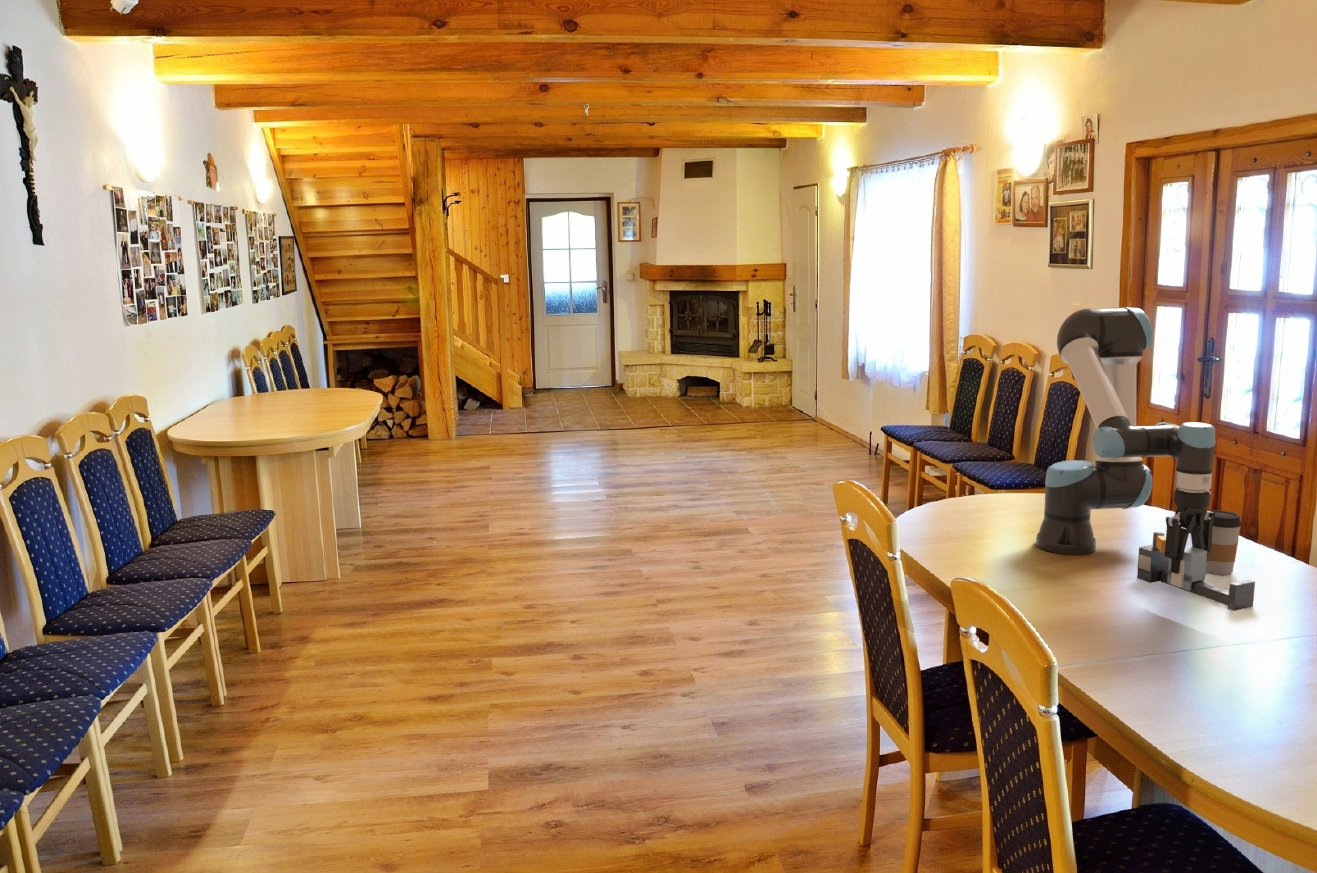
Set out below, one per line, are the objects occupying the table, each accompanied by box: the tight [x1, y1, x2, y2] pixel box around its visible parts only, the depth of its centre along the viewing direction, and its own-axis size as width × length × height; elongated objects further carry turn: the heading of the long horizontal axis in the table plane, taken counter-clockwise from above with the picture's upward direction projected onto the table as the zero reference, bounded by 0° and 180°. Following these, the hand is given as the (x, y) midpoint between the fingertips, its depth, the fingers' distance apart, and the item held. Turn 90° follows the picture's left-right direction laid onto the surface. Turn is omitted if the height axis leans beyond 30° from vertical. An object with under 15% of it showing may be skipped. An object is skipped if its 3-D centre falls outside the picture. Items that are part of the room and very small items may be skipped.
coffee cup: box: [1205, 510, 1242, 577], centre depth 244 cm, size 8×8×15 cm
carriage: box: [1167, 544, 1207, 592], centre depth 234 cm, size 6×5×9 cm
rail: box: [1160, 571, 1229, 606], centre depth 231 cm, size 19×2×2 cm, turn 22°
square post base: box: [1227, 578, 1256, 612], centre depth 221 cm, size 2×6×6 cm, turn 112°
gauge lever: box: [1152, 531, 1166, 552], centre depth 239 cm, size 2×6×3 cm, turn 169°
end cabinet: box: [1136, 544, 1169, 584], centre depth 242 cm, size 4×8×8 cm, turn 112°
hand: (1185, 583), depth 235 cm, fingers closed on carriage, 5 cm apart
